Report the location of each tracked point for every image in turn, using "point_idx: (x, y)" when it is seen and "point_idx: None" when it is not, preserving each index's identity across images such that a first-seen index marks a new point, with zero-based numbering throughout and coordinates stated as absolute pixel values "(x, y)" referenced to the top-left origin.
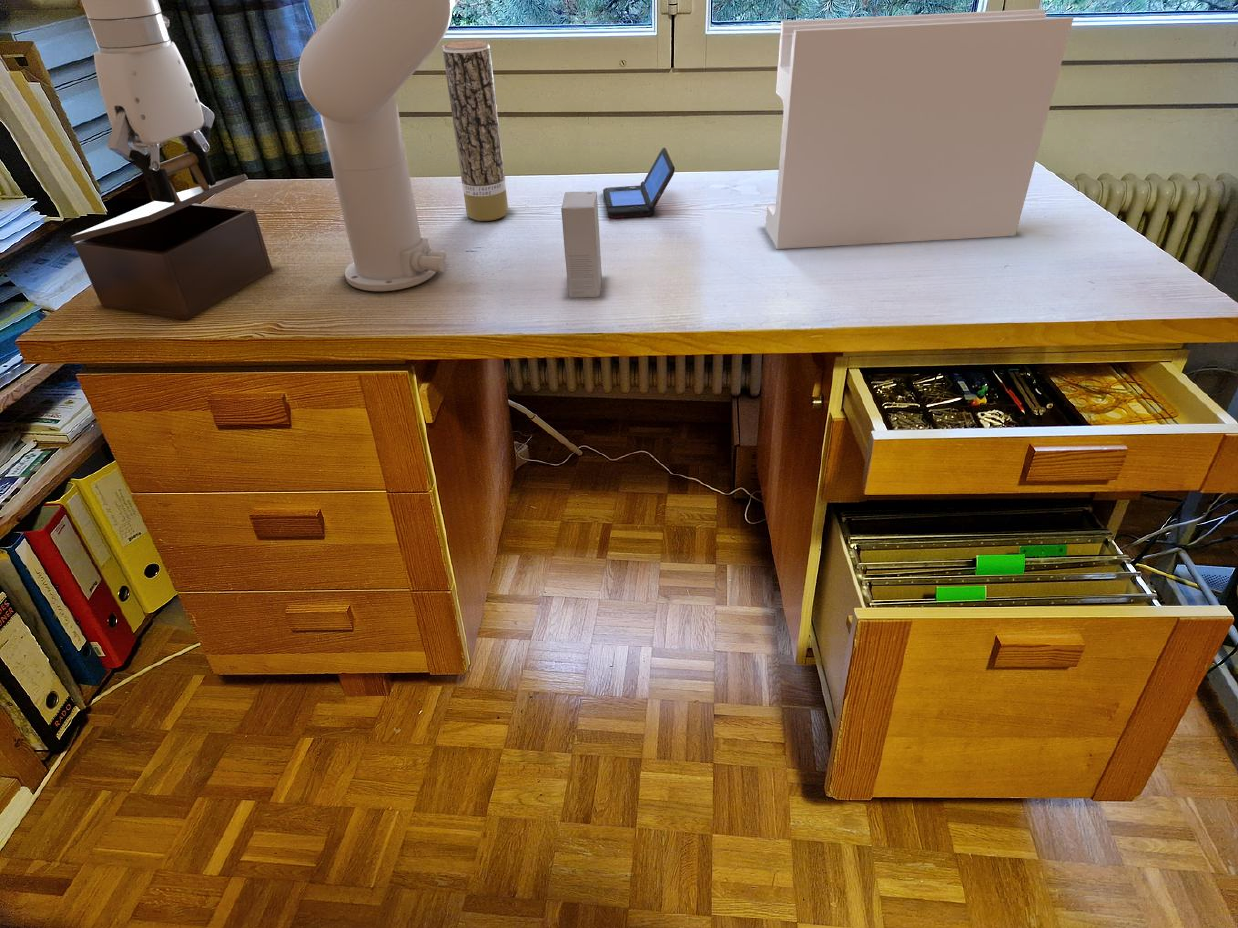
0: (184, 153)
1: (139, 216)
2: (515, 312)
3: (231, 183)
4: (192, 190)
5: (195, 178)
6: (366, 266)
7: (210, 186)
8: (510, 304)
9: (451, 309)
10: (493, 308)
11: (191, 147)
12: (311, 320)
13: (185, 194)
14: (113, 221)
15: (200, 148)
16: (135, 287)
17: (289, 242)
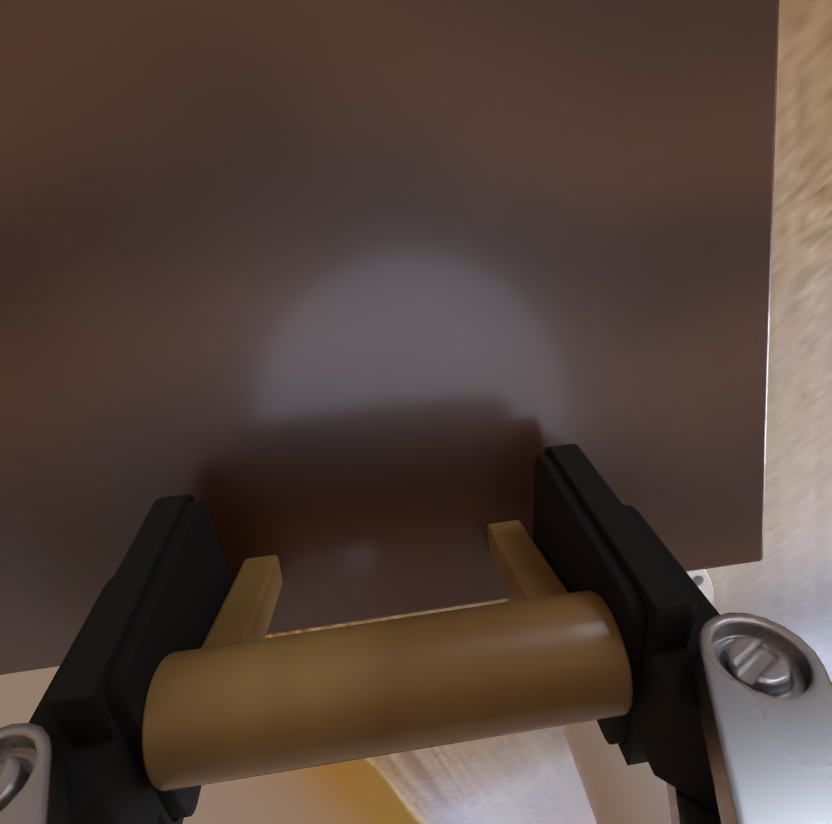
0: (652, 598)
1: (16, 514)
2: (507, 818)
3: None
4: (637, 221)
5: (546, 498)
6: None
7: None
8: (531, 803)
9: (485, 761)
10: (510, 795)
11: (681, 733)
12: (344, 625)
13: (516, 306)
14: (11, 72)
15: (670, 790)
16: None
17: (785, 206)
